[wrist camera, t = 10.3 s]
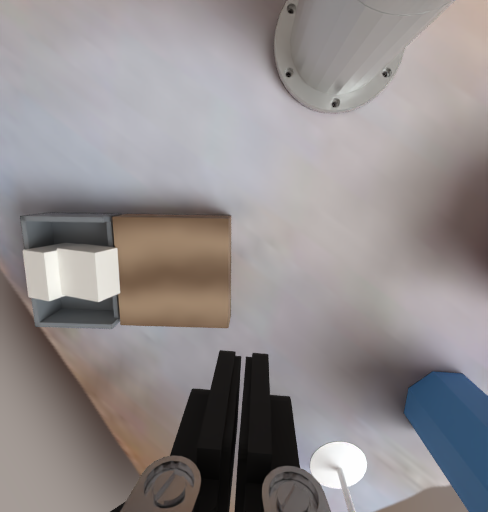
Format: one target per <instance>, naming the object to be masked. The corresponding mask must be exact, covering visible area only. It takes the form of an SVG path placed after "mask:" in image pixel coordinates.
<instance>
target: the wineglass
mask: <svg viewBox="0 0 488 512" xmlns="http://www.w3.org/2000/svg"><path fill="white" fill-rule="evenodd" d="M366 467H367V461H366V458H365V455H364V454H363V452H362V451H361V450H360V449H359V448H358V447H356V446H355V445H353V444H350V443H347V442H332V443H327V444H325V445H324V446H322V447H320V448H319V449H318V450H317V451H316V452H315V453H314V454H313V456H312V458H311V460H310V470H311V473H312V475H313V477H314V478H315V479H316V480H317V481H318V482H319V483H321V484H322V485H323V486H327V487H330V488H339V489H341V488H342V490H343V494H344V497H345V501H346V504H347V508H348V511H349V512H355V509H354V505H353V502H352V499H351V496H350V492H349V489H348V487H350V486H352V485H353V484H355V483H357V482H358V481H359V480H360V479H361V478H362V477H363V475H364V474H365V472H366Z"/></svg>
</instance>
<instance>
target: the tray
mask: <svg viewBox="0 0 488 512" xmlns="http://www.w3.org/2000/svg"><path fill="white" fill-rule="evenodd" d="M119 215H122V214H96V213H42V214H34V215H25V216H20V220H21V227H22V234H23V242H24V249H31V248H37V247H43V246H49V245H55V244H61V243H74V244H90V245H98V246H107V247H115V245H114V232H113V219H112V217H113V216H119ZM31 299H32V306H33V313H34V321H35V326H36V327H65V328H99V329H112V328H114V327H115V326H116V325H117V324H118V323H119V322H120V311H119V298H118V294H117V295H114V296H112V297H110V298H107V299H105V300H102V301H100V302H95V301H90V300H85V299H80V298H75V297H70V296H63V297H60V298H58V299H55V300H52V301H45V300H40V299H35V298H31Z"/></svg>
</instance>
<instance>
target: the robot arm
mask: <svg viewBox="0 0 488 512" xmlns="http://www.w3.org/2000/svg"><path fill="white" fill-rule="evenodd" d="M454 1H455V0H287V1H286V2H285V4H284V7H283V9H282V11H281V13H280V15H279V19H278V22H277V26H276V30H275V37H274V57H275V64H276V68H277V71H278V74H279V77H280V79H281V81H282V82H283V84H284V86H285V88H286V89H287V90H288V91H289V93H290V94H291V95H292V96H293V97H294V98H295V99H296V100H297V101H299V102H300V103H301V104H302V105H304V106H306V107H308V108H310V109H312V110H315V111H319V112H322V113H334V114H336V113H343V112H349V111H351V110H354V109H357V108H360V107H361V106H363V105H365V104H366V103H368V102H370V101H371V100H372V99H374V98H375V97H376V96H378V95H379V94H380V93H381V92H382V91H383V90H384V89H385V88H386V87H387V85H388V84H389V83H390V81H391V80H392V79H393V77H394V76H395V74H396V72H397V70H398V67H399V65H400V63H401V60H402V57H403V53H404V50H405V47H407V46H408V45H409V44H410V43H411V42H412V41H413V40H414V39H415V38H416V37H417V36H418V35H419V34H420V33H421V32H422V31H424V30H425V29H426V28H427V27H428V26H429V25H430V24H431V23H432V22H433V21H434V20H435V19H436V18H437V17H438V16H439V15H441V14H442V13H443V12H444V11H445V10H446V9H447V8H448V7H449V6H450V5H451V4H452V3H453V2H454ZM290 11H291V12H293V14H289V13H288V12H290ZM287 73H289V74H290V75H291V76H290V77H289V78H288V77H286V74H287ZM382 73H384V74H385V75H386V77H384V76H383V74H382ZM332 103H335V104H336V107H332ZM240 369H241V356H235V352H234V351H221V350H220V352H219V356H218V360H217V364H216V368H215V373H214V377H213V381H212V385H211V389H210V390H205V389H192V390H191V393H190V396H189V399H188V402H187V405H186V408H185V411H184V414H183V417H182V421H181V424H180V427H179V430H178V433H177V436H176V439H175V442H174V445H173V448H172V451H171V454H170V456H167V457H163V458H161V459H159V460H156V461H154V462H153V463H152V464H151V465H149V466H148V467H147V468H146V469H145V471H144V472H143V473H142V475H141V476H140V478H139V480H138V481H137V483H136V485H135V487H134V489H133V490H132V492H131V494H130V495H129V497H128V499H127V501H126V502H124V503H123V504H121V505H120V506H118V507H117V508H115V509H114V510H112V511H111V512H229V507H230V497H231V486H232V476H233V465H234V455H235V444H236V434H237V421H238V404H239V387H240ZM235 512H331V511H330V508H329V505H328V502H327V499H326V496H325V493H324V491H323V489H322V487H321V485H320V483H319V482H318V481H317V480H316V479H315V478H314V477H313V476H312V475H311V474H310V473H308V472H307V471H305V470H303V469H300V465H299V458H298V450H297V443H296V435H295V428H294V420H293V413H292V405H291V399H290V396H277V395H270V386H269V361H268V354H260V353H253V354H252V357H246V365H245V377H244V389H243V401H242V413H241V425H240V438H239V450H238V466H237V482H236V498H235Z"/></svg>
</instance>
